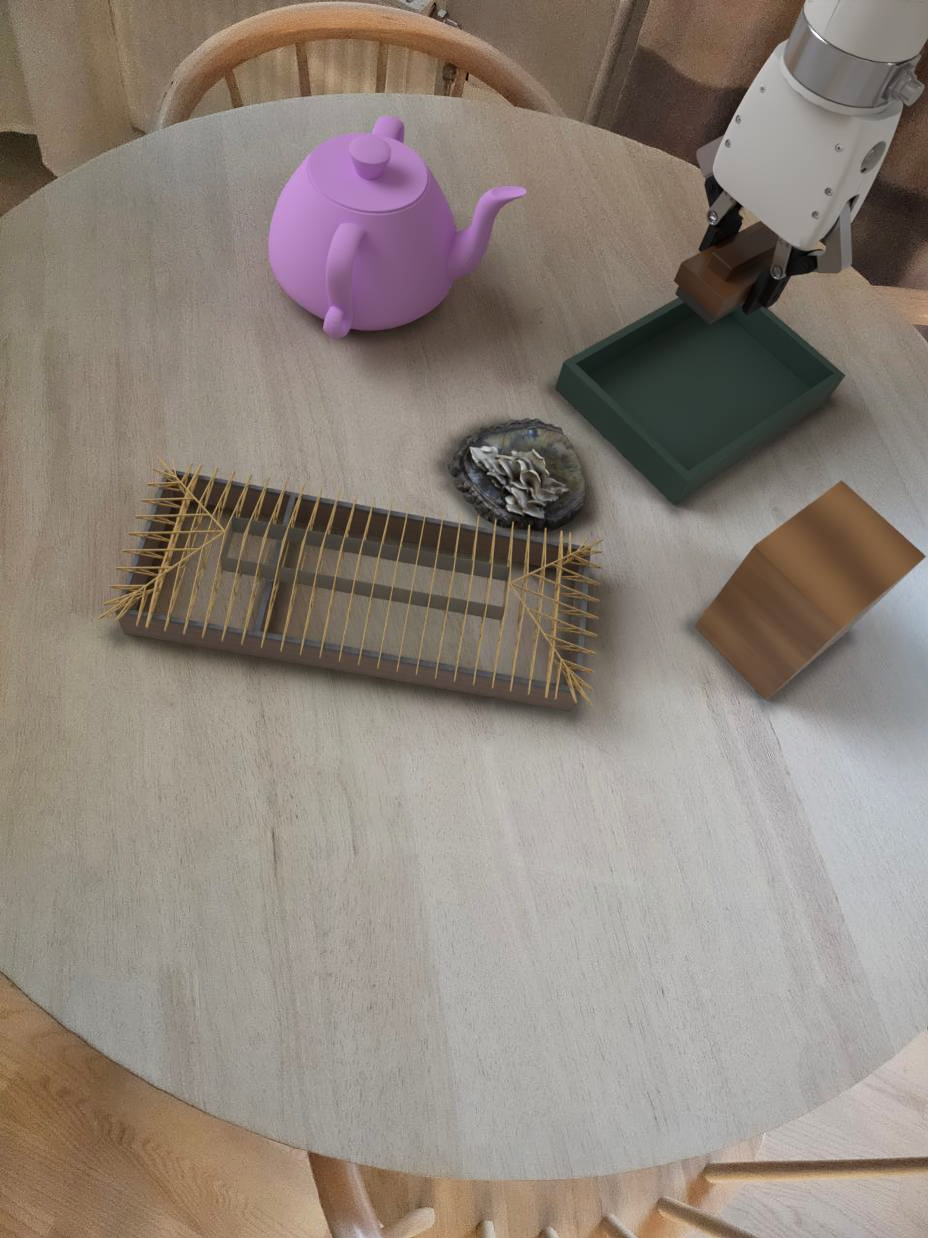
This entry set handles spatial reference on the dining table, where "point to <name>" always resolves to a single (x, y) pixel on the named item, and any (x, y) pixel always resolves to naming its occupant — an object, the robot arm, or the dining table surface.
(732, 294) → the brush
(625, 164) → the dining table surface
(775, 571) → the stand
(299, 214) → the teapot
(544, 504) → the log
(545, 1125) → the dining table surface
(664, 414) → the tray
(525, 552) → the rafter model
